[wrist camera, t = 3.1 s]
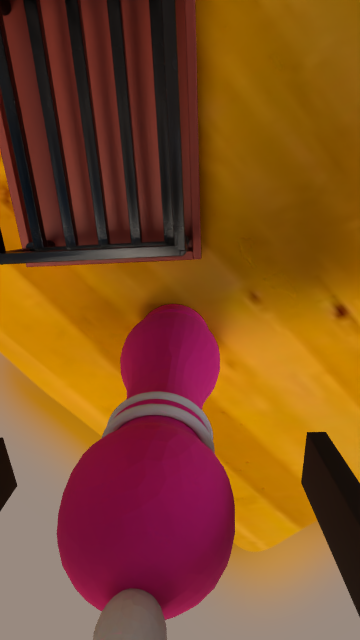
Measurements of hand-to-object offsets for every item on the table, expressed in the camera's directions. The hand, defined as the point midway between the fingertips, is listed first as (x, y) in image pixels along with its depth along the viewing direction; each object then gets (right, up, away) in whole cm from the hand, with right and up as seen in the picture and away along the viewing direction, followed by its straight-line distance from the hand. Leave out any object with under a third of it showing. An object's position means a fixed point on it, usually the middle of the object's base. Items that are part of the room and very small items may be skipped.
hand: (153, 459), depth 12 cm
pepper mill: (+1, +5, +13) cm, 14 cm away
